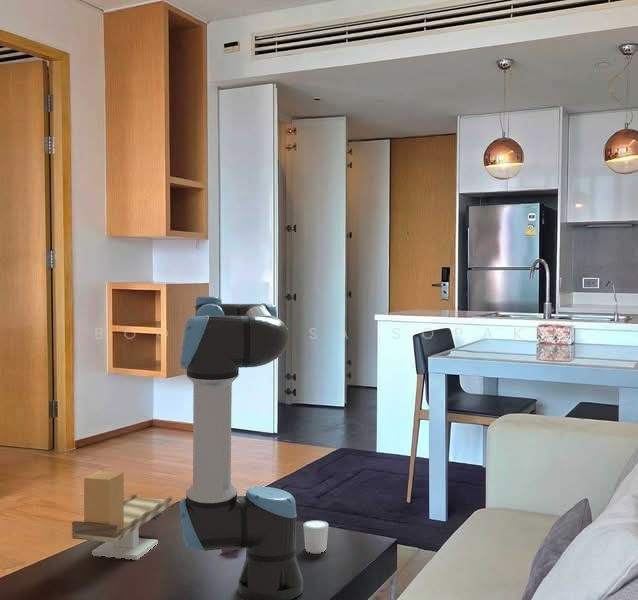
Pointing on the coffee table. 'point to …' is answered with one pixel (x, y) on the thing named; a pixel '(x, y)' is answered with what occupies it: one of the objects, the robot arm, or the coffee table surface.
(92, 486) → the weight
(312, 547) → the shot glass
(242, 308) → the robot arm
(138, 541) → the pivot stand
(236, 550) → the video game controller
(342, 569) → the coffee table surface
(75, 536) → the beam
